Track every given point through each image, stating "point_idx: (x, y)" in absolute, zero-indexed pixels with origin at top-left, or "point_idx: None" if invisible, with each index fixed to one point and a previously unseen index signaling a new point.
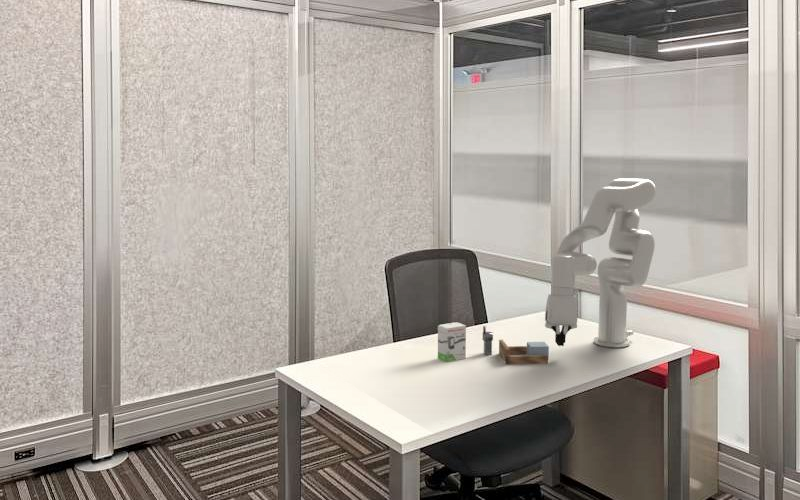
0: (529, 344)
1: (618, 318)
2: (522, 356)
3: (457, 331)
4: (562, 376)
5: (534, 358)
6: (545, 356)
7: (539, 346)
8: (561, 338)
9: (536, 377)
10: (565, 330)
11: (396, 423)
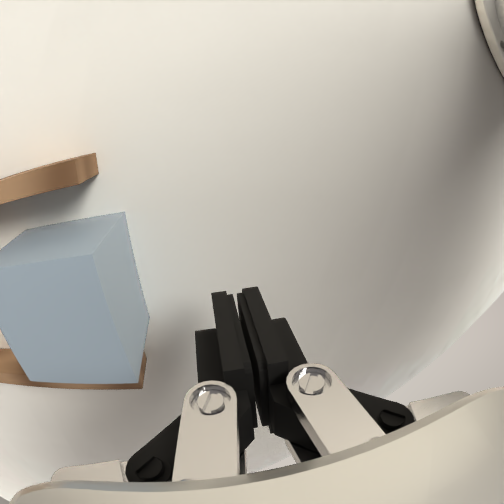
0: (5, 334)
1: None
2: (25, 385)
3: None
4: None
5: None
6: (128, 386)
7: (74, 379)
8: (254, 389)
9: (119, 459)
10: (313, 456)
11: (10, 499)
